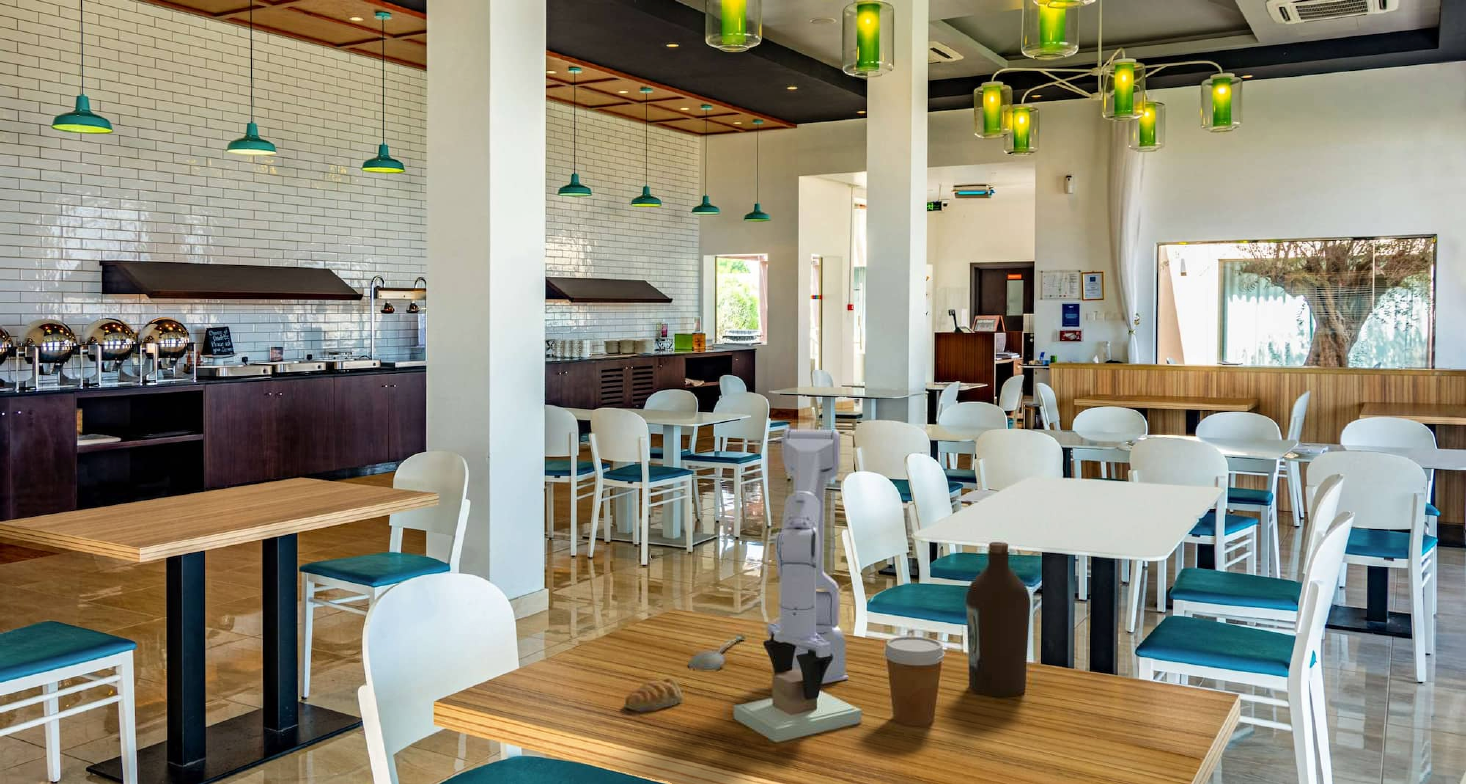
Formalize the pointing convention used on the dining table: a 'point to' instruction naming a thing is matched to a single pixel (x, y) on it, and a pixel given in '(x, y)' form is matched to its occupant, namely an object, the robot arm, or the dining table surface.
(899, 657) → the disposable coffee cup
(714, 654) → the soupspoon
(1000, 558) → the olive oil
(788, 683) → the walnut block
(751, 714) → the serving board
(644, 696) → the pastry
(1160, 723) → the dining table surface
